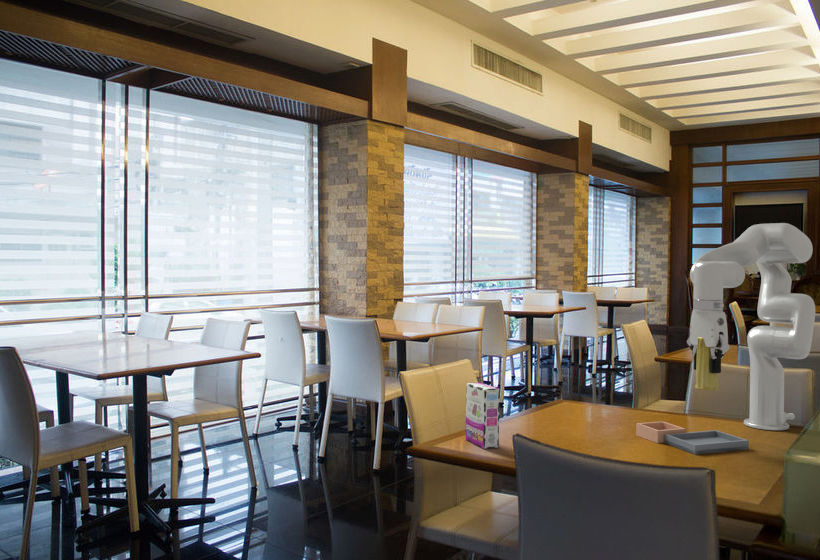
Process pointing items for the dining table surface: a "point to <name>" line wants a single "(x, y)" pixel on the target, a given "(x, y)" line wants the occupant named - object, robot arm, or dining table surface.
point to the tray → (706, 442)
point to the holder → (657, 430)
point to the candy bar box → (482, 415)
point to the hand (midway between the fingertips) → (707, 370)
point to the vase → (705, 368)
